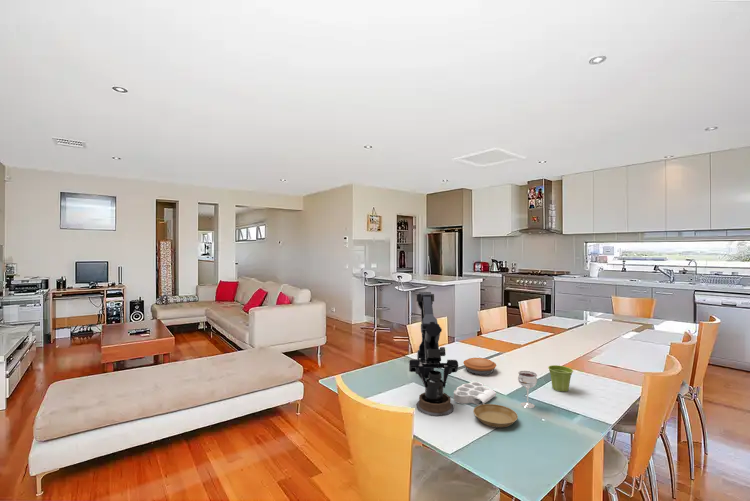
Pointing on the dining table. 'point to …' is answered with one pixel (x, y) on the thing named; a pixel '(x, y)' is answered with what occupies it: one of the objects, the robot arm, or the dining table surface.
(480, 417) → the plant saucer
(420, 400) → the walnut collar
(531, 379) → the wineglass
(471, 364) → the pie
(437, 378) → the supplement bottle
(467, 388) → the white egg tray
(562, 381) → the plant pot
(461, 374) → the dining table surface
